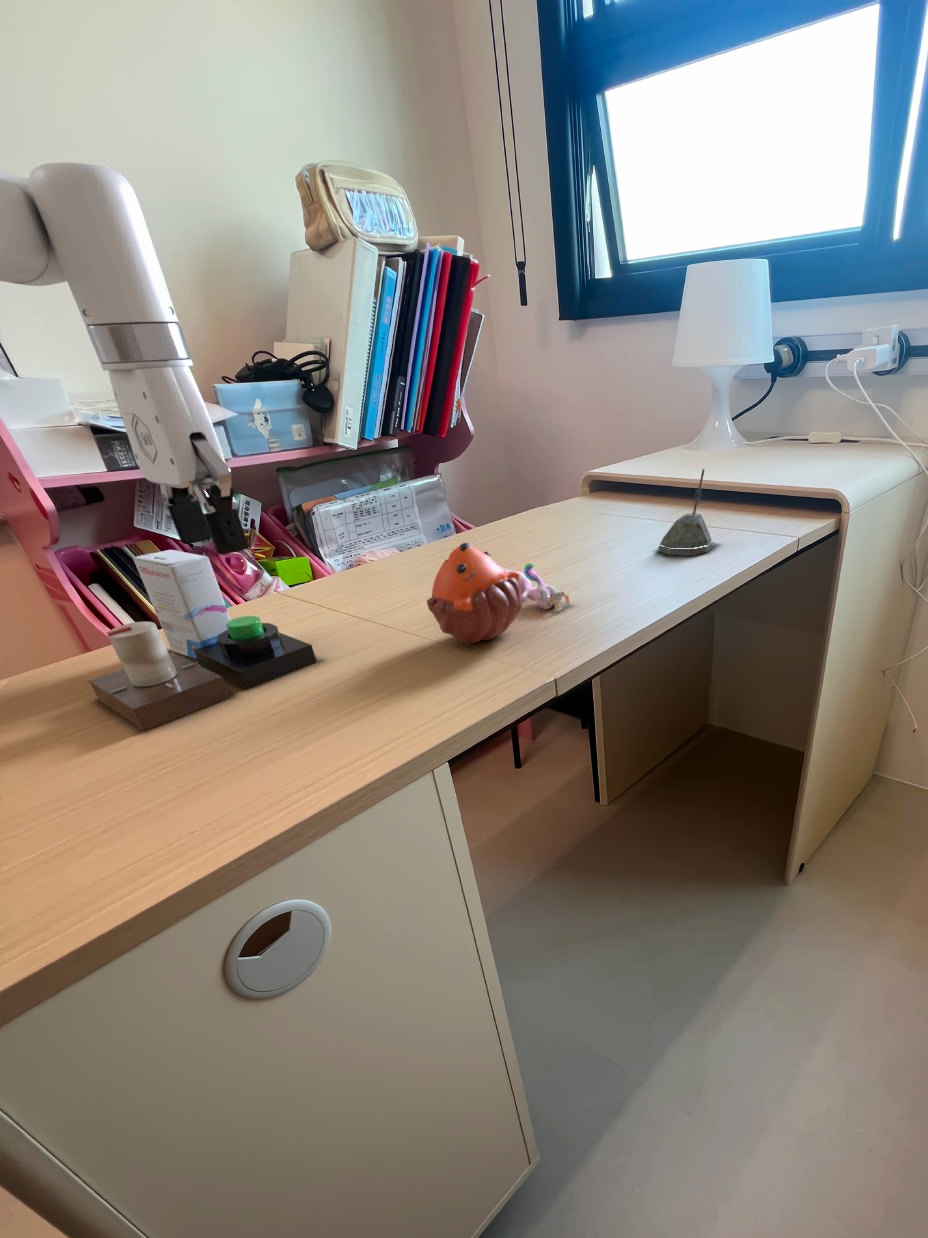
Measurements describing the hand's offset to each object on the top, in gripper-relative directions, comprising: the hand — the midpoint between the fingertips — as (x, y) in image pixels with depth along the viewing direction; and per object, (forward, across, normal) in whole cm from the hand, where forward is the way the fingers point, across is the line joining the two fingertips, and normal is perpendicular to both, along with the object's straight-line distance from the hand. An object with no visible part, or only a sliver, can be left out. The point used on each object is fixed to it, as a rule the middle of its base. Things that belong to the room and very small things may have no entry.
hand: (214, 545), depth 70 cm
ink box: (+14, -10, -2) cm, 17 cm away
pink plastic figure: (+14, +12, +34) cm, 39 cm away
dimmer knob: (+11, 0, -11) cm, 16 cm away
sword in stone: (+14, +18, +69) cm, 73 cm away
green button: (+10, 0, 0) cm, 10 cm away
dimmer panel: (+14, 0, -11) cm, 18 cm away
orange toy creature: (+14, +17, +21) cm, 31 cm away
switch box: (+14, 0, 0) cm, 14 cm away
